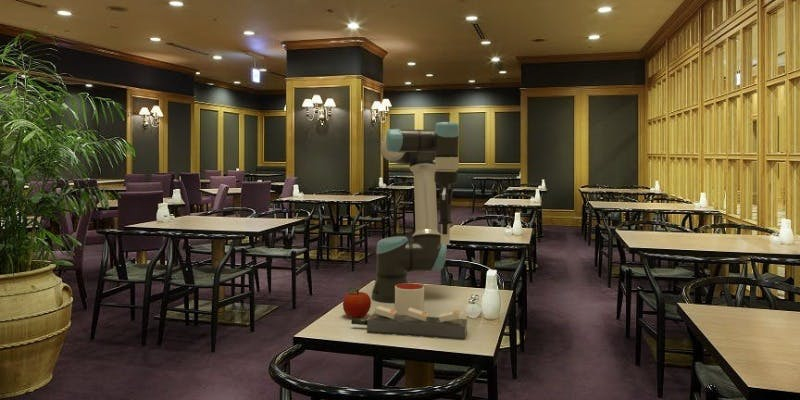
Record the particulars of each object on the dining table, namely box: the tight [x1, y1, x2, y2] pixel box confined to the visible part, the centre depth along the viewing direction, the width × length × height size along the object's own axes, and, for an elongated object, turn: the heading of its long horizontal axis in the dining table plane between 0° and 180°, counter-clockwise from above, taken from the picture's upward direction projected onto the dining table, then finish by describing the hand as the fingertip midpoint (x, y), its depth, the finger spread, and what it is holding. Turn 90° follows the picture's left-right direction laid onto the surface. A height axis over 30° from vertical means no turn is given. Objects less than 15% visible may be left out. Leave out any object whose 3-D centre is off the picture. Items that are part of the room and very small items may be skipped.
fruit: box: [342, 287, 372, 319], centre depth 198 cm, size 10×10×10 cm
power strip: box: [351, 312, 468, 341], centre depth 182 cm, size 8×36×4 cm, turn 79°
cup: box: [394, 282, 425, 315], centre depth 201 cm, size 10×10×10 cm
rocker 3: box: [438, 310, 461, 322], centre depth 179 cm, size 4×6×2 cm, turn 79°
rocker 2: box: [407, 307, 429, 321], centre depth 181 cm, size 4×6×2 cm, turn 79°
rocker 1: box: [374, 305, 397, 319], centre depth 183 cm, size 4×6×2 cm, turn 79°
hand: (445, 243), depth 189 cm, fingers closed
